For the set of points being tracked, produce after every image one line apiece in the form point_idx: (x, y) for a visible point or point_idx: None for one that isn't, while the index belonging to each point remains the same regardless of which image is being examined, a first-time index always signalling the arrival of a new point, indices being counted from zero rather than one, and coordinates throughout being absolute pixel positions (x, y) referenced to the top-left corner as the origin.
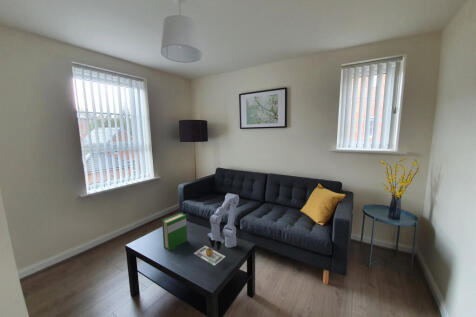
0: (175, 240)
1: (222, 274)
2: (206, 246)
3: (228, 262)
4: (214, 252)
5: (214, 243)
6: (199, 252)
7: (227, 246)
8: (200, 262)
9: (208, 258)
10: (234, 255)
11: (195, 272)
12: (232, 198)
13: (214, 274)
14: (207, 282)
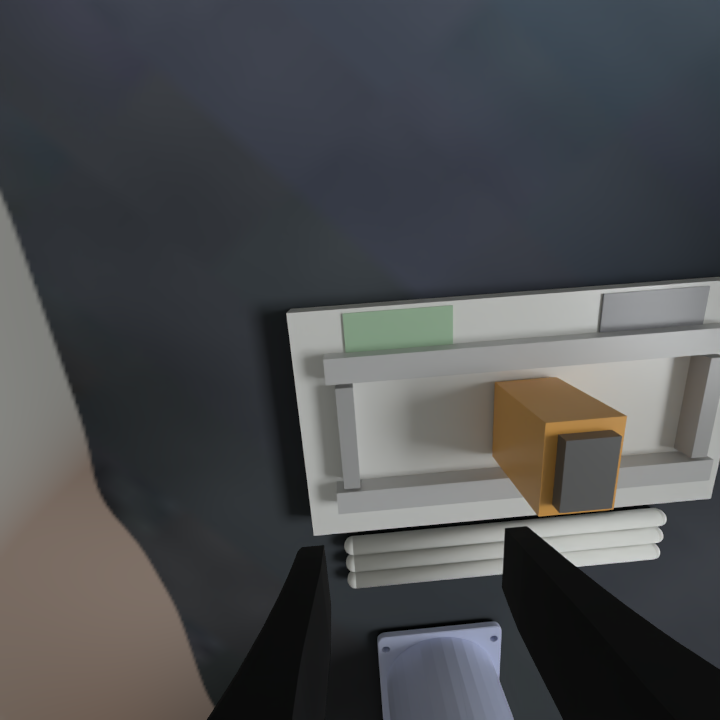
0: None
1: (100, 295)
2: (683, 499)
3: (230, 493)
4: (486, 490)
5: (548, 678)
6: (689, 339)
7: (433, 666)
8: (528, 240)
9: (464, 347)
10: None
11: (427, 27)
12: None
13: (177, 216)
14: (107, 13)
